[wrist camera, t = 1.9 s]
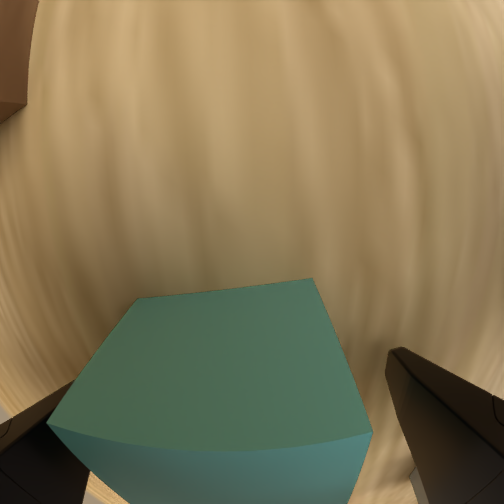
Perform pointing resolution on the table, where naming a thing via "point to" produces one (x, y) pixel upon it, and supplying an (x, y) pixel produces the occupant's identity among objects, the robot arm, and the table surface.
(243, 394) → the teal block
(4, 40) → the walnut block
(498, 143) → the table surface
